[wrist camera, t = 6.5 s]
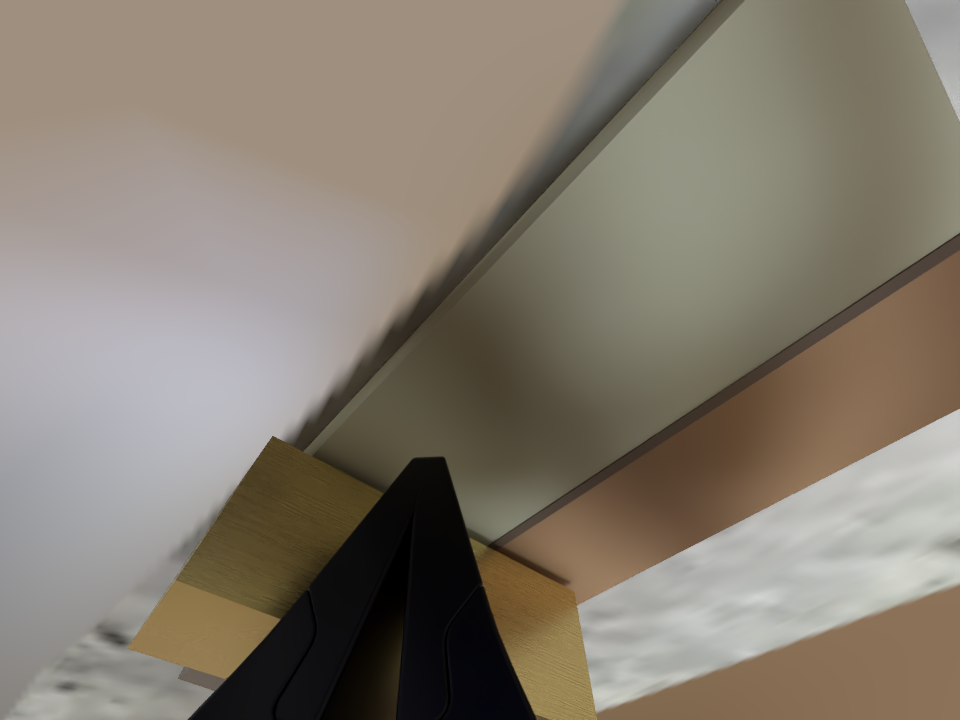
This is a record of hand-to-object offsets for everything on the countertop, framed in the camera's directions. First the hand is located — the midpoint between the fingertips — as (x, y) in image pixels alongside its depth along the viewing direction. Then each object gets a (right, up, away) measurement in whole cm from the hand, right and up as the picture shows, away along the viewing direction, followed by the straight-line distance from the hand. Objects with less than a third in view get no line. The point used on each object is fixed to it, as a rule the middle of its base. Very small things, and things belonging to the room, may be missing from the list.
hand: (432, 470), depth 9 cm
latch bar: (-1, -3, +3) cm, 4 cm away
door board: (+3, 0, +2) cm, 4 cm away
